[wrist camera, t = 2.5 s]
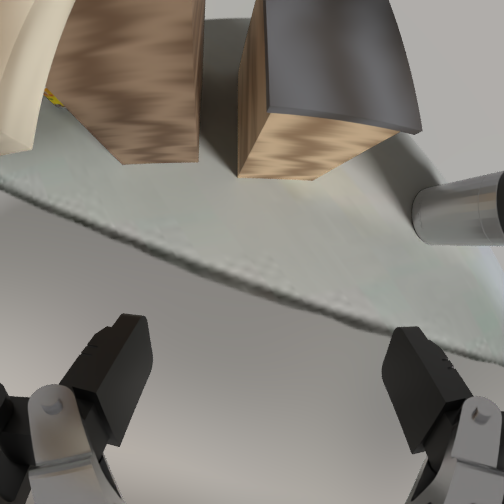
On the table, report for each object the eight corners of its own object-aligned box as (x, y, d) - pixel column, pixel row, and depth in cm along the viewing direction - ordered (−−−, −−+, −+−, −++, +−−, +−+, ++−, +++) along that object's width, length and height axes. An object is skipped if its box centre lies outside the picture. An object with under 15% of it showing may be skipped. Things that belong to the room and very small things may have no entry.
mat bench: (309, 75, 40) (379, -23, 18) (316, 184, 40) (422, 130, 18) (234, 68, 38) (262, -51, 16) (233, 181, 39) (269, 105, 16)
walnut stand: (202, 70, 37) (218, -134, 6) (198, 162, 38) (193, -56, 6) (133, 73, 36) (73, -112, 4) (122, 164, 36) (-29, 5, 5)
